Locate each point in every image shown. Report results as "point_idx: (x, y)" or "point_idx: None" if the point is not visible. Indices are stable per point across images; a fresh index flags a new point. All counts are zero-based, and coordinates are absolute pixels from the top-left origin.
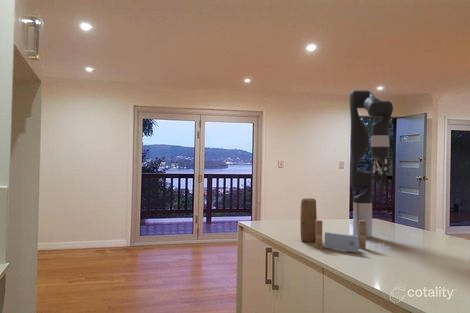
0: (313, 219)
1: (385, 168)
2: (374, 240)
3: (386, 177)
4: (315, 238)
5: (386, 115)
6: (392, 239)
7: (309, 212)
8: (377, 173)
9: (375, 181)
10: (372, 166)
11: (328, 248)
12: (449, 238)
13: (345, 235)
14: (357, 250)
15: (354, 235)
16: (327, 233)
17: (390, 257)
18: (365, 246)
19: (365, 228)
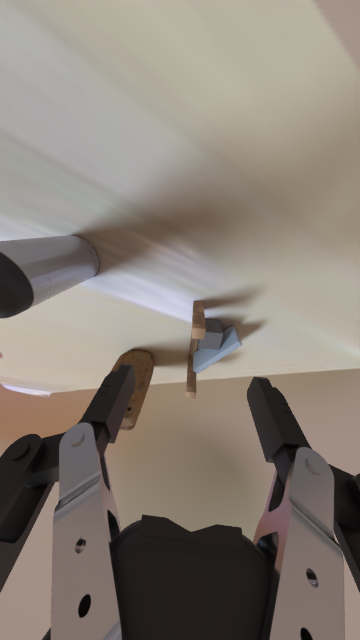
0: (146, 385)
1: (325, 553)
2: (122, 249)
3: (286, 415)
4: (150, 356)
5: None
6: (99, 191)
7: (142, 401)
8: (103, 433)
9: (134, 381)
10: (17, 550)
11: (196, 350)
12: None
13: (225, 355)
14: (235, 329)
15: (205, 333)
16: (200, 370)
17: (272, 288)
18: (203, 303)
19: (204, 320)
